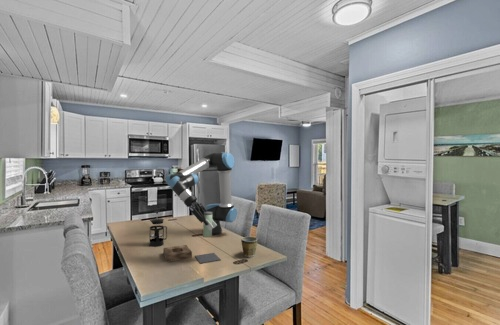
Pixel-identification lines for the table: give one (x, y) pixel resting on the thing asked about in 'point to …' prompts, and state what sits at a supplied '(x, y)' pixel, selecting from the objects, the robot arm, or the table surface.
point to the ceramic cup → (249, 246)
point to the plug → (205, 230)
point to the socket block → (177, 253)
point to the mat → (207, 258)
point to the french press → (157, 233)
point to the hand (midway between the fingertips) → (213, 227)
